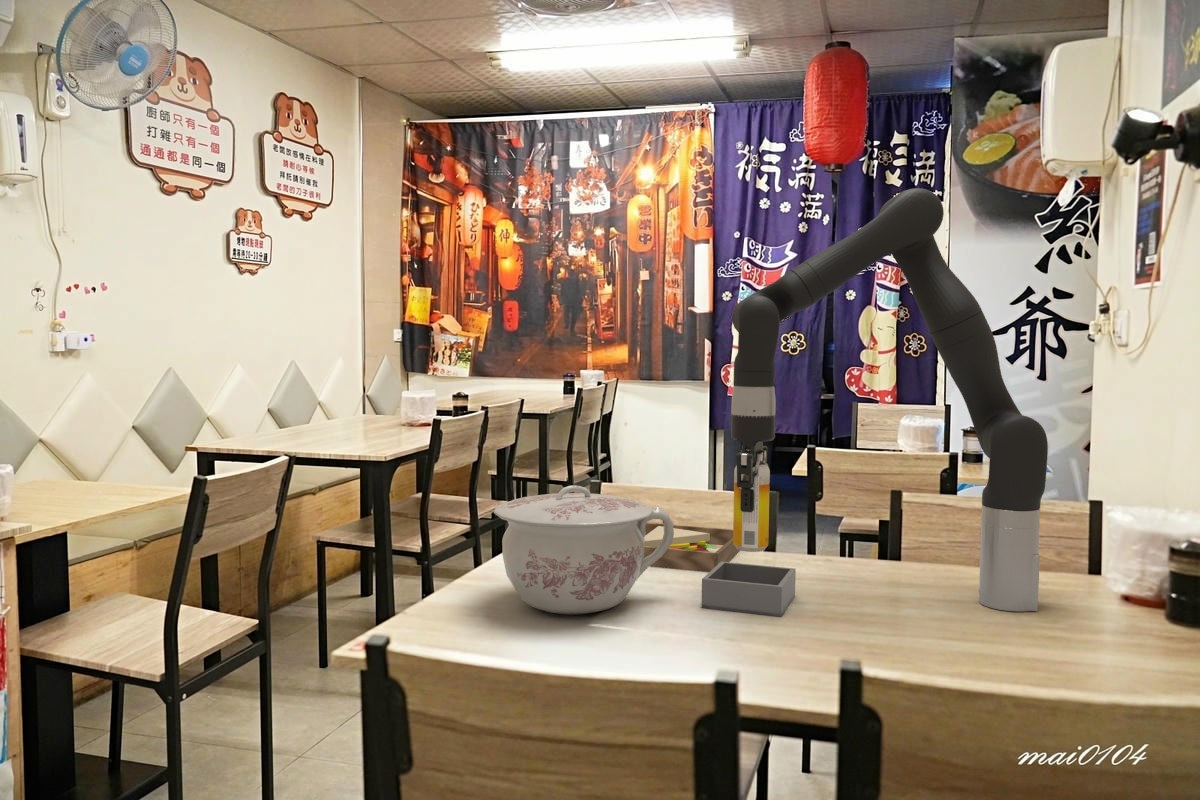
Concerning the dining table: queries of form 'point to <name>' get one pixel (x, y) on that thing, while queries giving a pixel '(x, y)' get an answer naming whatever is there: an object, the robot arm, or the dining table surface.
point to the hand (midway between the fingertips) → (751, 508)
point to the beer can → (752, 514)
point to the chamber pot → (577, 548)
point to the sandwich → (680, 539)
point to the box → (749, 588)
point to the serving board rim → (695, 558)
